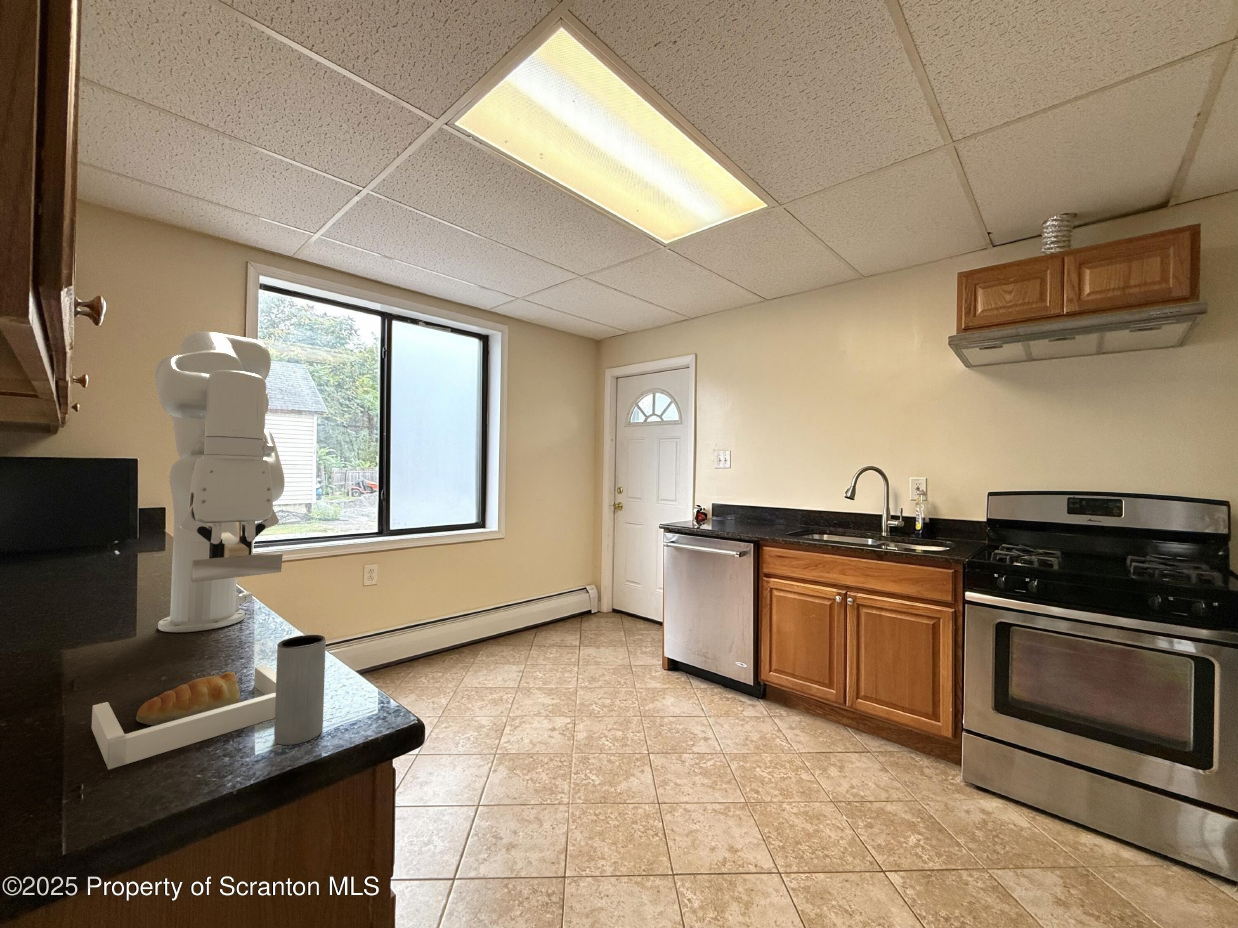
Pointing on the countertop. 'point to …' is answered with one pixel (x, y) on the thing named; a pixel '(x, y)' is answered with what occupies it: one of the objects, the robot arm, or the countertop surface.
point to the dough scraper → (235, 562)
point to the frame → (181, 725)
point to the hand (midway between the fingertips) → (230, 566)
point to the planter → (299, 689)
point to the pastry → (191, 699)
